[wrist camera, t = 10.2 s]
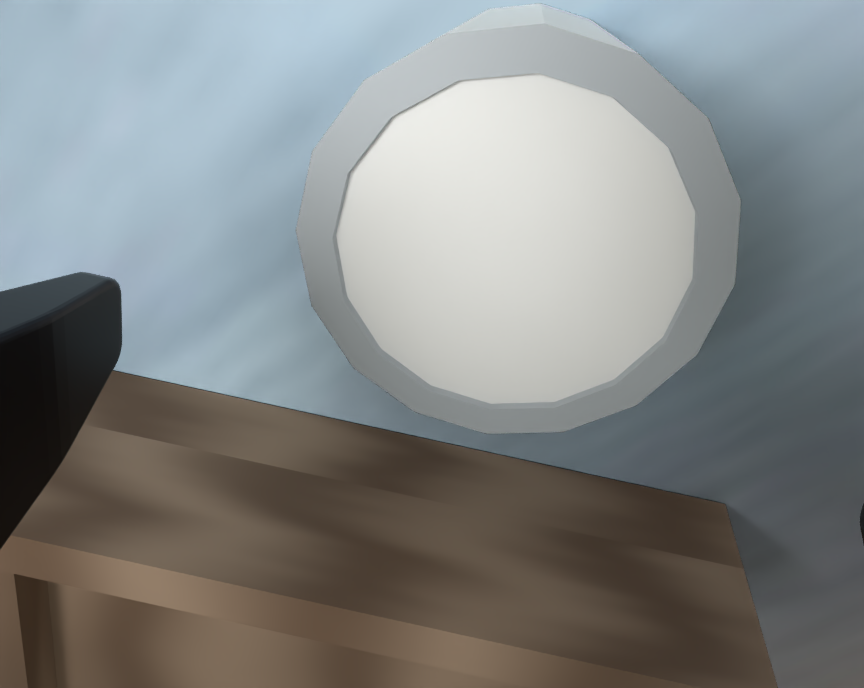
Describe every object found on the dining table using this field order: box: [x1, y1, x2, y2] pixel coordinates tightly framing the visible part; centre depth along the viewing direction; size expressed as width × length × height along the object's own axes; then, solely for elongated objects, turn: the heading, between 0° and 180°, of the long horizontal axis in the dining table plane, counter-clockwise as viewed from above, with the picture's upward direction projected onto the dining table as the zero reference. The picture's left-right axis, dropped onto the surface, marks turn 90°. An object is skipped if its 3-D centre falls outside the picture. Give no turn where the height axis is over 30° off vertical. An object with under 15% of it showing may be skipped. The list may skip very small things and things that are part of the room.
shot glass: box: [296, 3, 741, 434], centre depth 16 cm, size 7×7×7 cm
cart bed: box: [0, 371, 778, 688], centre depth 24 cm, size 20×14×6 cm
